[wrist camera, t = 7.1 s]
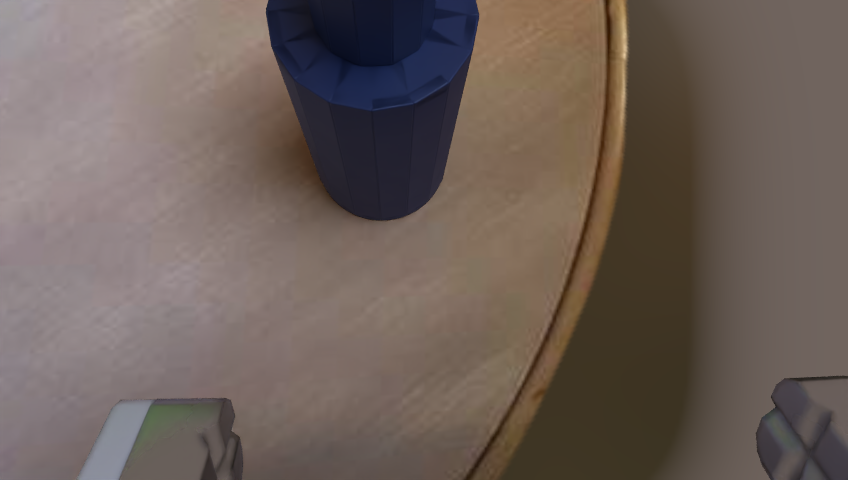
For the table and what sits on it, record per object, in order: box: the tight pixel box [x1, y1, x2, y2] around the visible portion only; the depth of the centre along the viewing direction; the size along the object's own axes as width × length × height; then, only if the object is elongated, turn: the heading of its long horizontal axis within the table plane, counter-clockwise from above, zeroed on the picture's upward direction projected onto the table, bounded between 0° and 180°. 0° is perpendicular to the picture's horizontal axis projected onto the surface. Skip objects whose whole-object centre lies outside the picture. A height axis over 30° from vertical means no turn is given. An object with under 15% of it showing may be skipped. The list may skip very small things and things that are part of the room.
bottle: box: [266, 0, 479, 220], centre depth 22 cm, size 6×6×16 cm
